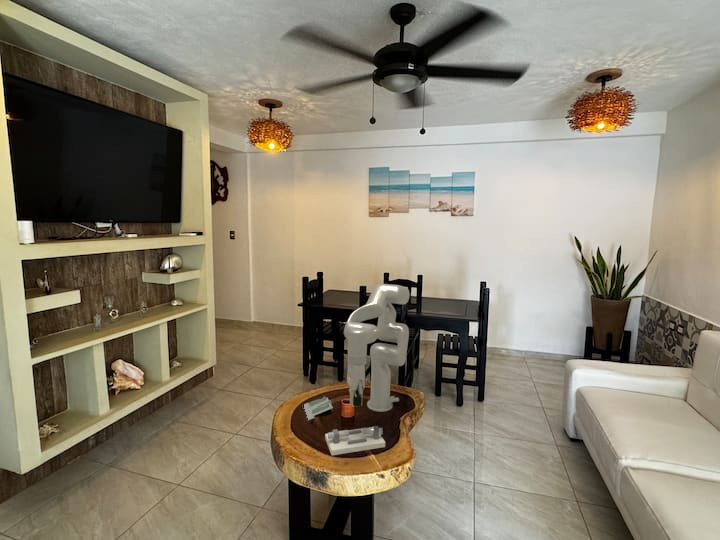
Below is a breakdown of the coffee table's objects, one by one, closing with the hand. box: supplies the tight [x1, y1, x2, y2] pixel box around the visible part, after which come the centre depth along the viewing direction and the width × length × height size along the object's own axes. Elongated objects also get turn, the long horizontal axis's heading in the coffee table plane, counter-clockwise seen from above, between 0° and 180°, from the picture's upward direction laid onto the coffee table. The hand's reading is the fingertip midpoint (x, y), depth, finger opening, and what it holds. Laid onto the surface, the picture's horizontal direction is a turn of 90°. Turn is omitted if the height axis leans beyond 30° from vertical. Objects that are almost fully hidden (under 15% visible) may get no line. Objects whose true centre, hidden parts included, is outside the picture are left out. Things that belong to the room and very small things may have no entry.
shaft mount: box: [324, 426, 386, 456], centre depth 148 cm, size 22×12×6 cm, turn 107°
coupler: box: [348, 386, 364, 408], centre depth 146 cm, size 6×4×7 cm
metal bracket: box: [303, 396, 334, 421], centre depth 174 cm, size 14×6×15 cm
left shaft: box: [361, 425, 384, 439], centre depth 149 cm, size 8×4×4 cm, turn 92°
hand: (355, 402), depth 147 cm, fingers closed on coupler, 4 cm apart
